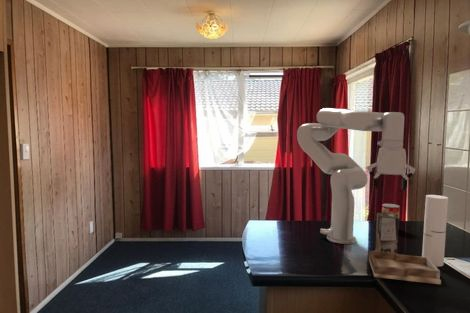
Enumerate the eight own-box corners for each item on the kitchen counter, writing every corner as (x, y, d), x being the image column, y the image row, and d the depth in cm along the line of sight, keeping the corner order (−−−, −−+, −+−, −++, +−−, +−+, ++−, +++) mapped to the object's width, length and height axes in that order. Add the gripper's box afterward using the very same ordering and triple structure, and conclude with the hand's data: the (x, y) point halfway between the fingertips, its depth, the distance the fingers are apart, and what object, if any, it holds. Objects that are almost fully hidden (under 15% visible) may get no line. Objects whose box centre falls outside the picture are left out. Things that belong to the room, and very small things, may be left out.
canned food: (379, 226, 180) (380, 203, 179) (395, 227, 179) (396, 204, 178) (383, 231, 172) (384, 206, 171) (400, 231, 171) (402, 207, 170)
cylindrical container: (443, 268, 127) (447, 199, 125) (420, 263, 131) (425, 197, 129) (443, 261, 133) (448, 196, 131) (422, 257, 137) (426, 194, 135)
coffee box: (397, 260, 134) (399, 218, 132) (379, 258, 135) (381, 217, 134) (391, 252, 143) (393, 212, 141) (374, 250, 144) (376, 211, 143)
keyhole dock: (374, 276, 118) (375, 266, 118) (368, 259, 134) (369, 250, 134) (440, 284, 114) (441, 273, 113) (427, 265, 129) (427, 255, 129)
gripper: (369, 144, 134) (367, 189, 135) (419, 145, 130) (416, 192, 131) (366, 143, 141) (364, 186, 142) (414, 145, 137) (411, 188, 138)
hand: (389, 189), depth 137 cm, fingers open, 9 cm apart
